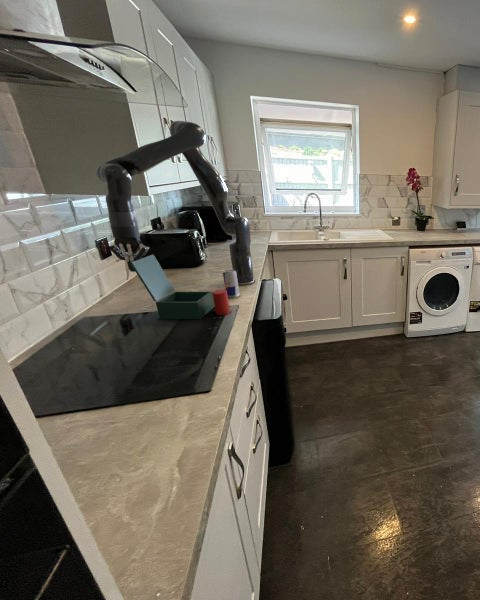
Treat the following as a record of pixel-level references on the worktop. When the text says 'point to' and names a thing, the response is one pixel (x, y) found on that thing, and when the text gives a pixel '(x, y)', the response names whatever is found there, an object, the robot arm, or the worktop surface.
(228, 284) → the energy drink
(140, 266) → the lid
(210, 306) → the box
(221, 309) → the tin
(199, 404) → the worktop surface
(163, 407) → the worktop surface
